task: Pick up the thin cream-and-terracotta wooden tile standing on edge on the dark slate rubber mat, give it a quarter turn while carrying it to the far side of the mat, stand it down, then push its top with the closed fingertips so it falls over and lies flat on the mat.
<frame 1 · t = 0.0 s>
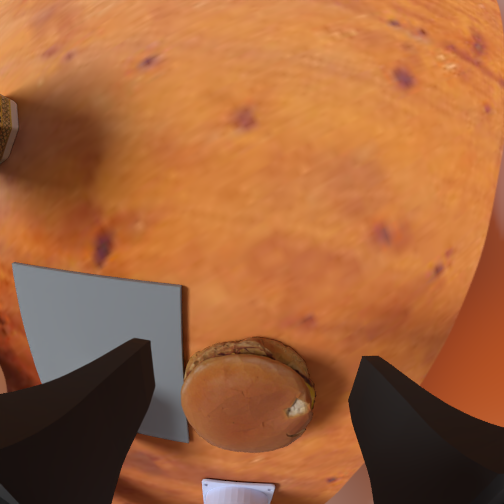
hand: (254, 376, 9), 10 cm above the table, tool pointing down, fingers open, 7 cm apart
mat: (95, 361, 21), on the table
burger: (250, 380, 22), on the table
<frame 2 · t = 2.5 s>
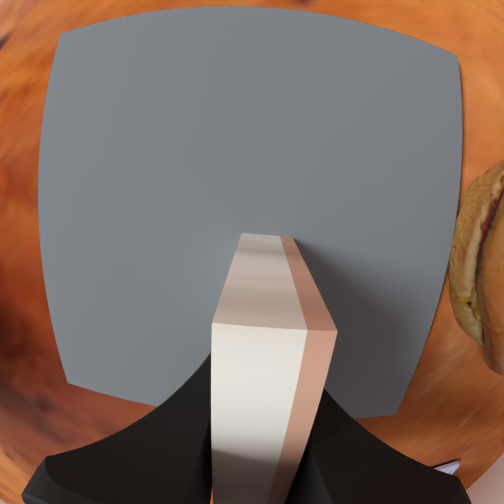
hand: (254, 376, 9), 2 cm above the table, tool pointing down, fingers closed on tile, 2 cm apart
mat: (236, 230, 10), on the table
tile: (255, 355, 11), resting on mat, touching gripper
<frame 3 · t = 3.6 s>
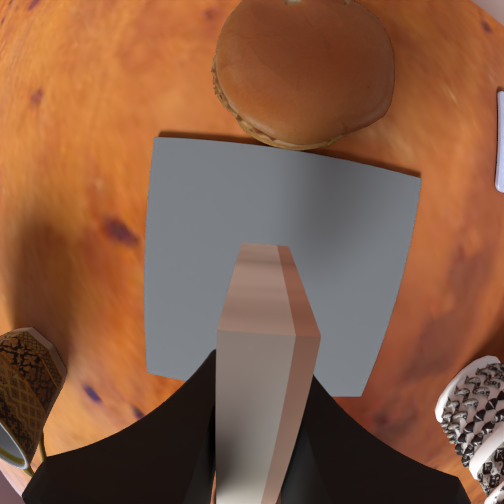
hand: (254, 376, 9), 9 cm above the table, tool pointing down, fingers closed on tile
ceramic cup: (47, 370, 21), on the table
mat: (274, 286, 18), on the table
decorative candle: (468, 390, 20), on the table
burger: (298, 73, 15), on the table
tile: (254, 355, 11), point 7 cm above the table, touching gripper
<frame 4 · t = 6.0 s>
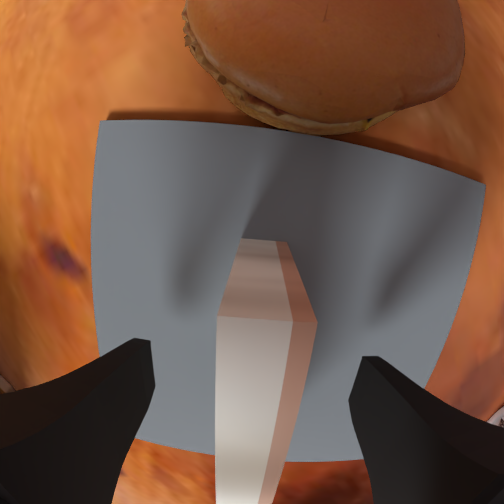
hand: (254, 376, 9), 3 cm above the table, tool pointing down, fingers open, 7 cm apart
mat: (279, 341, 12), on the table
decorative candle: (498, 429, 14), on the table
burger: (315, 27, 9), on the table
tile: (253, 350, 12), resting on mat
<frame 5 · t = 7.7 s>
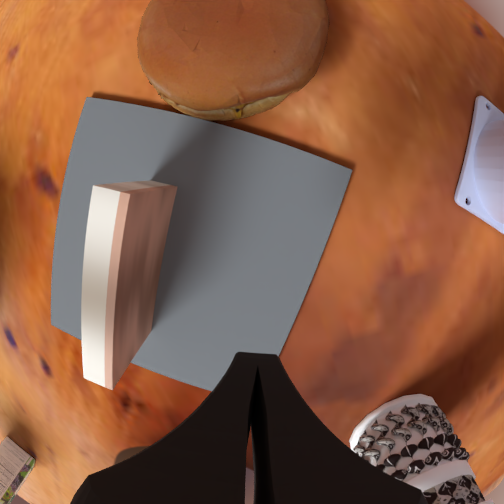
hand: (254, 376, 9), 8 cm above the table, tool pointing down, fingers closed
mat: (167, 259, 17), on the table
syrup box: (20, 451, 26), on the table
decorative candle: (394, 427, 20), on the table
burger: (233, 46, 14), on the table
tile: (148, 261, 16), resting on mat
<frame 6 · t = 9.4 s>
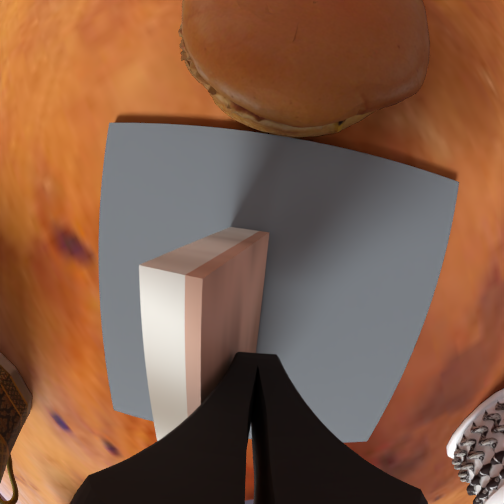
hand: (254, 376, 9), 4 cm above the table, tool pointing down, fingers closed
ceramic cup: (14, 392, 16), on the table
mat: (264, 320, 13), on the table
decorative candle: (484, 423, 16), on the table
burger: (298, 39, 11), on the table
tile: (240, 330, 13), point 1 cm above the table, tilted 14°, touching mat
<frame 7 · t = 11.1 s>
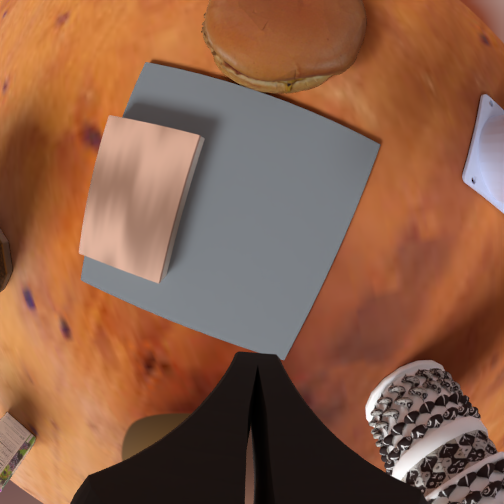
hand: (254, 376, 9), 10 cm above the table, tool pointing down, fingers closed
mat: (214, 212, 18), on the table
syrup box: (20, 429, 27), on the table
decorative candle: (406, 396, 22), on the table
burger: (281, 34, 16), on the table
tile: (180, 210, 17), point 1 cm above the table, tilted 90°, touching mat
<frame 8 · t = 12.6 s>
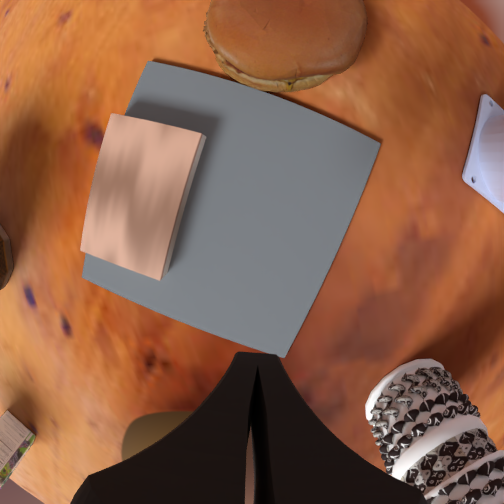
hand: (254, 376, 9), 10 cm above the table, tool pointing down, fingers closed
mat: (215, 210, 18), on the table
syrup box: (19, 427, 27), on the table
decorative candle: (406, 394, 22), on the table
burger: (282, 33, 16), on the table
tile: (181, 208, 17), point 1 cm above the table, tilted 90°, touching mat
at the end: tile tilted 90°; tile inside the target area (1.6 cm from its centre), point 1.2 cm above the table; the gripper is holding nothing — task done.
